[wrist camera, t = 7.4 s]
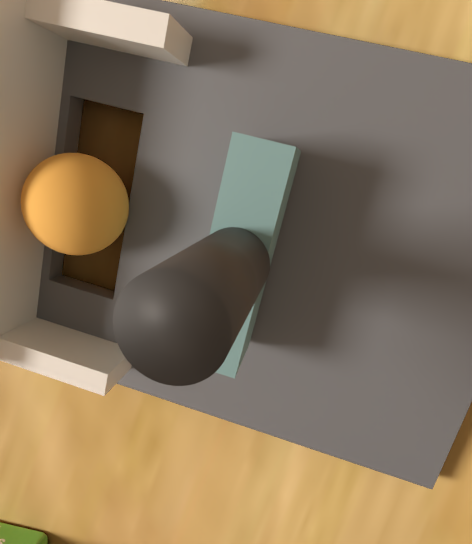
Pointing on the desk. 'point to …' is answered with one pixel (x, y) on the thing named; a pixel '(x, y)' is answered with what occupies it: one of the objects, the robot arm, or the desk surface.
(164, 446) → the desk surface
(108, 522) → the desk surface
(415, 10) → the desk surface
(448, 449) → the board
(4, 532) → the ink box
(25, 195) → the ball
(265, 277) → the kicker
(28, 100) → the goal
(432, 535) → the desk surface
